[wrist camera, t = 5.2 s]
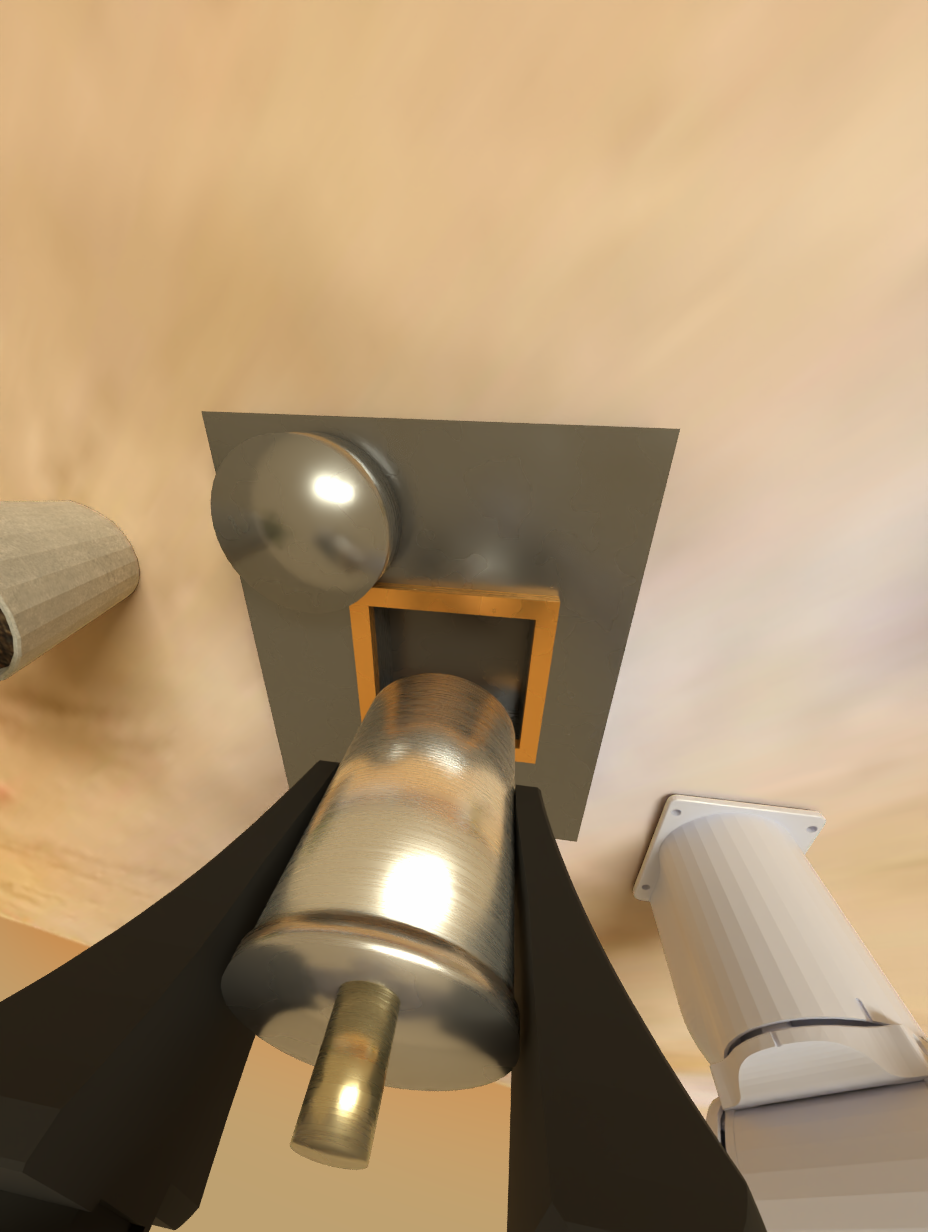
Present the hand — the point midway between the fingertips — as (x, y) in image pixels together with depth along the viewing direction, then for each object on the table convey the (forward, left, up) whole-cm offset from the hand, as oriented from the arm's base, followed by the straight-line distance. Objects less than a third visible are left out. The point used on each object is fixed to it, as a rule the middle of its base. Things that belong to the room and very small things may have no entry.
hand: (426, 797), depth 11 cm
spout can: (0, 0, -2) cm, 2 cm away
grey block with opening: (0, +1, -9) cm, 9 cm away
